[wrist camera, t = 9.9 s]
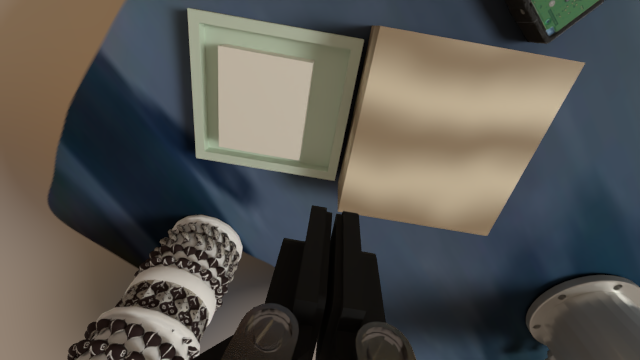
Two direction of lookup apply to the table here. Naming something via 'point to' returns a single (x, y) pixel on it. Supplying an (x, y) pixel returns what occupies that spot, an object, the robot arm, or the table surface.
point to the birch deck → (446, 128)
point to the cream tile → (263, 100)
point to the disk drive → (548, 16)
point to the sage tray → (325, 95)
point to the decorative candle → (168, 297)
